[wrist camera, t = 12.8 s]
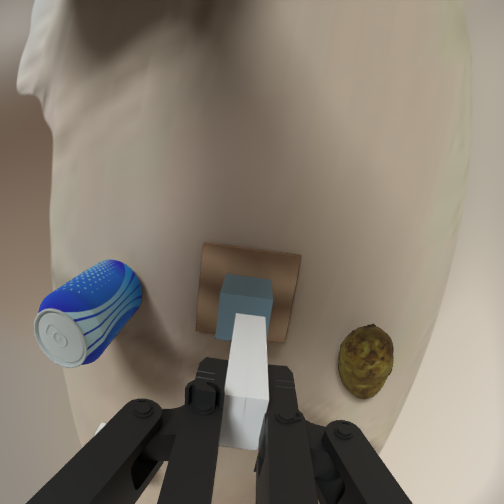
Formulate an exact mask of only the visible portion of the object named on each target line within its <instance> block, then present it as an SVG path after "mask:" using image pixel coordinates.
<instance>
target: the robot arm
mask: <svg viewBox="0 0 504 504" xmlns="http://www.w3.org/2000/svg"><path fill="white" fill-rule="evenodd" d="M258 445H259V453H258V456H257V460H256V464H255V468H254V472H256V504H318V501H319V503H320V504H412V502H411V501H410V500H409V498H408V497H407V495H406V494H405V492H404V491H403V490H402V488H401V487H400V485H399V484H398V483H397V481H396V480H395V478H394V477H393V476H392V474H391V473H390V471H389V470H388V468H387V467H386V466H385V464H384V463H383V461H382V460H381V458H380V457H379V456H378V454H377V453H376V451H375V450H374V448H373V447H372V446H371V444H370V443H369V441H368V440H367V439H366V437H365V436H364V434H363V433H362V431H361V430H360V429H359V428H358V427H357V426H356V425H355V424H353V423H351V422H349V421H344V420H336V421H333V422H330V423H329V424H328V425H327V427H323V426H320V425H316V424H313V423H310V422H309V421H307V420H305V418H304V416H303V414H302V413H301V412H300V411H299V409H298V403H297V397H296V390H295V384H294V378H293V373H292V372H291V371H290V369H289V368H288V367H287V366H278V365H268V364H267V342H266V321H265V317H262V316H254V315H246V314H239V313H236V316H235V323H234V329H233V336H232V343H231V349H230V356H229V360H222V359H215V358H208V357H206V358H205V359H204V360H203V361H201V362H200V364H199V367H198V372H197V374H196V378H195V380H193V381H191V382H190V383H188V384H187V386H186V387H185V405H183V406H181V407H178V408H174V409H161V407H160V406H159V405H158V404H157V403H156V402H154V401H152V400H149V399H135V400H131V401H130V402H128V403H127V404H126V405H125V406H124V407H123V408H122V409H121V410H120V411H119V412H118V413H117V414H116V415H115V416H114V417H113V418H112V419H111V420H110V421H109V422H108V423H107V424H106V425H105V426H104V427H103V428H102V429H101V430H100V431H99V432H98V433H97V434H96V435H95V436H94V437H93V438H92V439H91V440H90V441H89V442H88V443H87V444H86V445H85V446H84V447H83V448H82V449H81V450H80V451H79V452H78V453H77V454H76V455H75V456H74V457H73V458H72V459H71V460H70V461H69V462H68V463H67V464H66V465H65V466H64V467H63V468H62V469H61V470H60V471H59V472H58V473H57V474H56V475H55V476H54V477H53V478H52V479H51V480H50V481H48V482H47V483H46V484H45V485H44V486H43V487H42V488H41V489H40V490H39V491H38V492H37V493H36V494H35V495H34V496H33V497H32V498H31V499H30V500H29V501H28V502H27V503H26V504H135V502H136V501H137V500H138V498H139V497H140V495H141V494H142V493H143V491H144V490H145V488H146V487H147V486H148V484H149V483H150V481H151V480H152V478H153V477H154V476H155V474H156V473H157V471H158V470H159V468H160V467H161V466H162V464H163V462H164V461H169V462H168V466H167V469H166V473H165V477H164V480H163V484H162V488H161V491H160V495H159V499H158V502H157V504H211V502H212V494H213V486H214V478H215V471H216V463H217V455H218V447H219V446H223V447H231V448H239V449H249V450H257V449H258Z"/></svg>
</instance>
